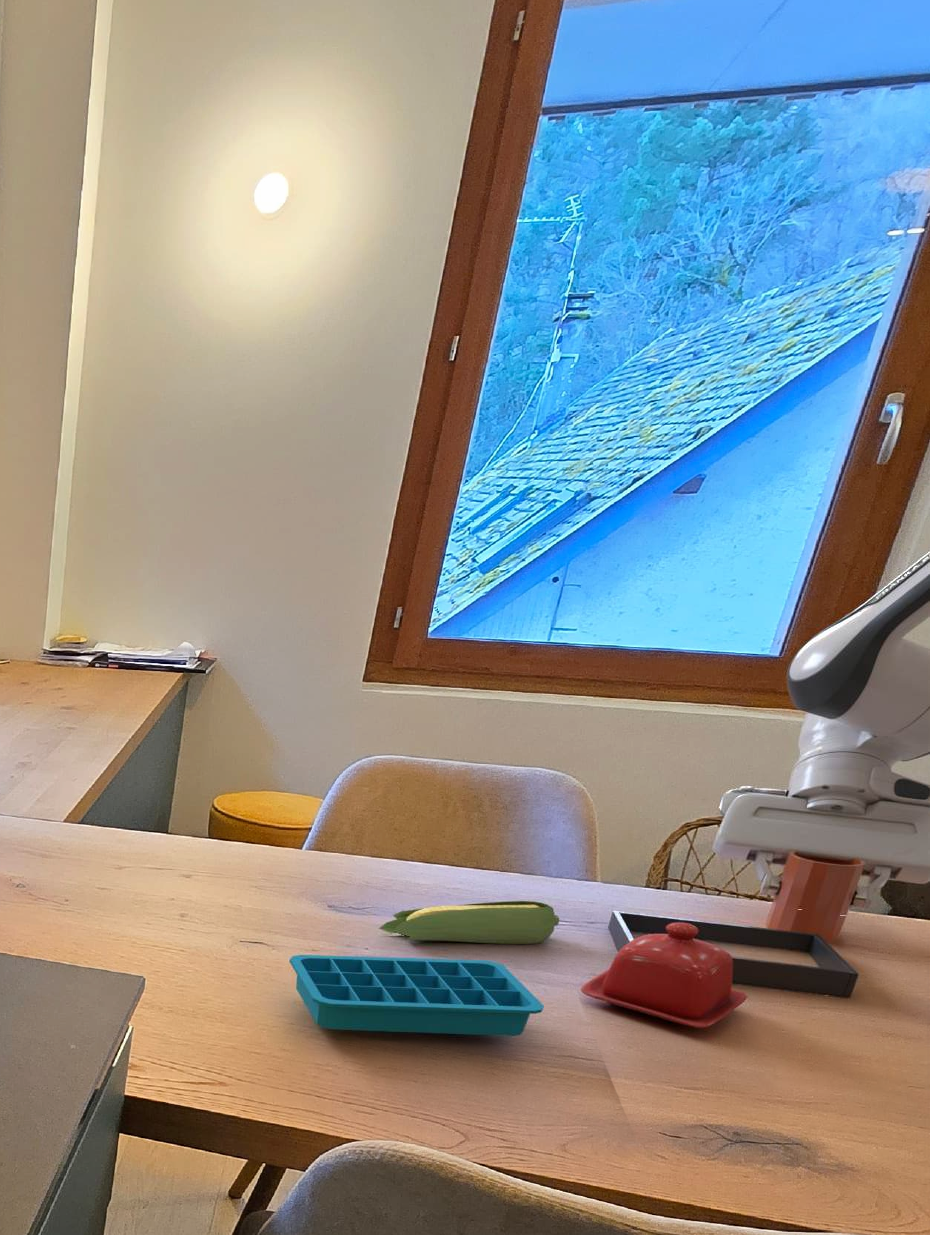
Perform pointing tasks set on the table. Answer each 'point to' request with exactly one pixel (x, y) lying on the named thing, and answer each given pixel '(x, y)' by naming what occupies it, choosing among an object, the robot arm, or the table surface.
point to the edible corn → (478, 923)
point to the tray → (822, 980)
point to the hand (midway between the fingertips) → (814, 898)
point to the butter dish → (670, 978)
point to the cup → (815, 895)
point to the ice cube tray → (413, 995)
